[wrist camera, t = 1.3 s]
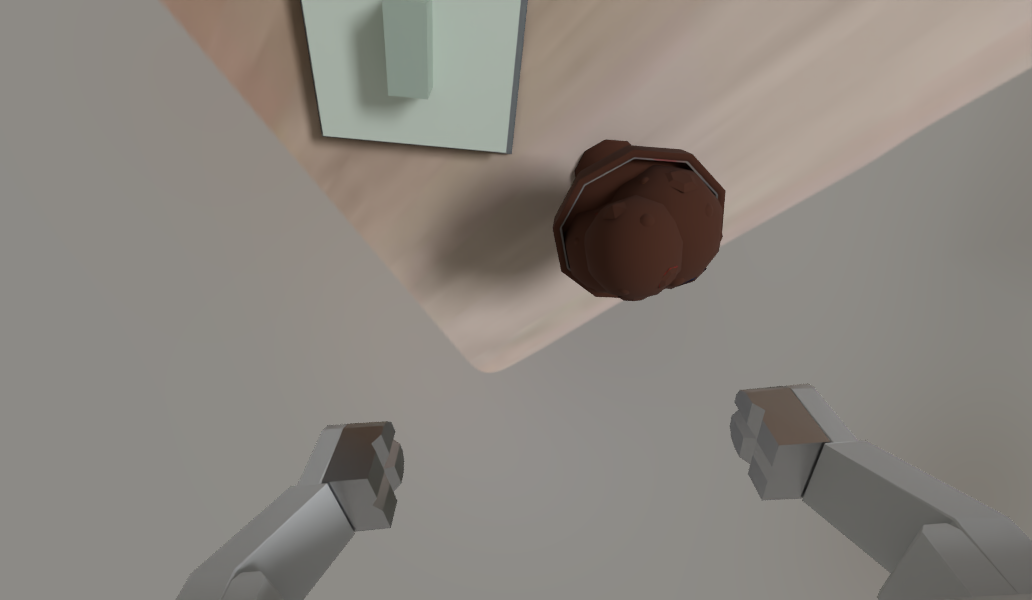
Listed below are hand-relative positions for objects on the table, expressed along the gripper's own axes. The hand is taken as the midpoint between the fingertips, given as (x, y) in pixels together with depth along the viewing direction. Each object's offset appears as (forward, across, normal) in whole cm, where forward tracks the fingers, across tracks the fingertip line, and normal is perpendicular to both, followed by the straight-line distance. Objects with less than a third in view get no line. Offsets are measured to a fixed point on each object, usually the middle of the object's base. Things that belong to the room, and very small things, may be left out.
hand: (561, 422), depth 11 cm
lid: (+26, +6, -8) cm, 28 cm away
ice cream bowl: (+28, -6, +3) cm, 29 cm away
